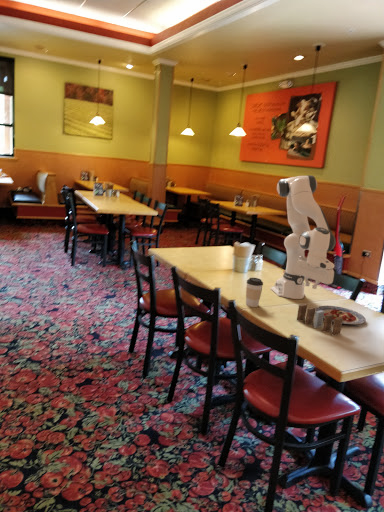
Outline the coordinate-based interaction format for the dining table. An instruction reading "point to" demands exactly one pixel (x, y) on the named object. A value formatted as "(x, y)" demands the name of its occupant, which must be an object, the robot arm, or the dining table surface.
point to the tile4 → (327, 322)
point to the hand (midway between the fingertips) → (310, 287)
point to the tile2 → (310, 315)
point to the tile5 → (337, 326)
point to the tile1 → (302, 312)
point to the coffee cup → (253, 291)
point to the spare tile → (318, 319)
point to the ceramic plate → (343, 314)
